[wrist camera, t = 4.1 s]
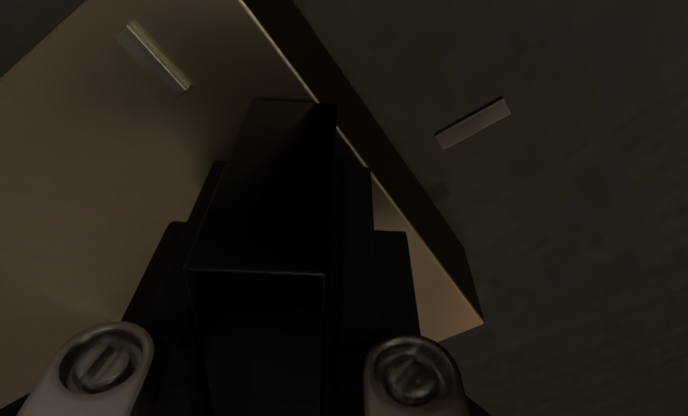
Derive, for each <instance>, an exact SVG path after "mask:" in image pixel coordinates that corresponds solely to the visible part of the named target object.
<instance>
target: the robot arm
mask: <svg viewBox="0 0 688 416" xmlns="http://www.w3.org/2000/svg"><path fill="white" fill-rule="evenodd" d="M225 164H226V161H222V160H215V161H214V162H213V164H212V166H211V168H210V171H209V173H208V175H207V177H206V180H205V182H204V184H203V186H202V189H201V191H200V193H199V195H198V198H197V200H196V202H195V204H194V207H193V209H192V211H191V213H190V216H189V218H188V220H187V222H181V221H172V222H171V223H169V225H168V226H167V228H166V230H165V232H164V234H163V236H162V238H161V240H160V242H159V244H158V246H157V248H156V250H155V252H154V254H153V256H152V258H151V260H150V262H149V264H148V266H147V268H146V270H145V272H144V275H143V277H142V279H141V281H140V283H139V285H138V287H137V289H136V291H135V293H134V295H133V297H132V299H131V301H130V303H129V305H128V307H127V309H126V311H125V313H124V315H123V317H122V319H121V321H115V322H105V323H102V324H98V325H94V326H91V327H89V328H87V329H85V330H83V331H81V332H79V333H77V334H75V335H74V336H73V337H72V338H70V339H69V340H68V341H66V342H65V343H64V344H63V345H62V346H61V347H60V348H59V350H58V351H57V352H56V353H55V354H54V356H53V357H52V359H51V360H50V362H49V363H48V365H47V367H46V368H45V370H44V372H43V373H42V375H41V376H40V378H39V380H38V381H37V383H36V385H35V386H34V388H33V389H32V391H31V392H30V393H28V394H26V395H25V396H23V397H21V398H19V399H17V400H16V401H14V402H12V403H10V404H8V405H7V406H5V407H3V408H1V409H0V416H213V412H212V407H211V403H210V398H209V393H208V388H207V383H206V378H205V373H204V368H203V363H202V359H201V354H200V349H199V344H198V339H197V334H196V329H195V324H194V319H193V315H192V310H191V305H190V300H189V295H188V290H187V285H186V280H185V275H184V270H183V268H184V265H185V263H186V260H187V258H188V255H189V253H190V250H191V248H192V245H193V243H194V240H195V238H196V235H197V233H198V231H199V228H200V226H201V223H202V221H203V218H204V216H205V213H206V211H207V208H208V206H209V203H210V201H211V198H212V196H213V193H214V191H215V188H216V186H217V184H218V181H219V179H220V176H221V174H222V171H223V169H224V166H225ZM323 416H491V415H490V414H489V413H487V412H486V411H485V410H484V409H482V408H481V407H480V406H478V405H477V404H476V403H475V402H473V401H472V400H471V399H470V398H468V397H467V396H466V395H465V391H464V386H463V382H462V378H461V373H460V371H459V368H458V366H457V364H456V361H455V359H454V358H453V357H452V356H451V355H450V353H449V352H448V351H447V350H446V349H445V348H444V347H442V346H441V345H440V344H438V343H437V342H436V341H434V340H432V339H429V338H427V337H424V336H422V335H421V332H420V325H419V318H418V311H417V304H416V296H415V289H414V282H413V275H412V268H411V261H410V253H409V246H408V239H407V234H406V232H405V231H384V230H374V217H373V199H372V181H371V168H370V167H351V166H344V173H334V190H333V208H332V226H331V243H330V261H329V279H328V296H327V315H326V339H325V365H324V391H323Z"/></svg>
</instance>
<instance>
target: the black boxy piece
mask: <svg viewBox="0 0 688 416" xmlns="http://www.w3.org/2000/svg"><path fill="white" fill-rule="evenodd" d="M336 129H337V105H336V104H328V103H308V102H288V101H268V100H251V102H250V104H249V107H248V109H247V112H246V114H245V117H244V119H243V122H242V124H241V127H240V129H239V132H238V134H237V136H236V139H235V141H234V144H233V146H232V149H231V151H230V154H229V156H228V159H227V161H226V164H225V166H224V169H223V171H222V174H221V176H220V179H219V181H218V184H217V186H216V188H215V191H214V193H213V196H212V198H211V201H210V203H209V206H208V208H207V211H206V213H205V216H204V218H203V221H202V223H201V226H200V228H199V231H198V233H197V235H196V238H195V240H194V243H193V245H192V248H191V250H190V253H189V255H188V258H187V260H186V263H185V265H184V268H183V270H184V275H185V280H186V285H187V290H188V295H189V300H190V305H191V310H192V315H193V319H194V324H195V329H196V334H197V339H198V344H199V349H200V354H201V359H202V363H203V368H204V373H205V378H206V383H207V388H208V393H209V398H210V403H211V407H212V412H213V416H323V391H324V365H325V339H326V315H327V296H328V279H329V261H330V243H331V226H332V208H333V190H334V173H335V153H336Z"/></svg>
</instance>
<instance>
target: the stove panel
mask: <svg viewBox="0 0 688 416" xmlns="http://www.w3.org/2000/svg"><path fill="white" fill-rule="evenodd" d="M251 100H268V101H288V102H308V103H328V104H336V105H337V129H336V153H335V173H344V166H351V167H370V168H371V181H372V199H373V217H374V230H384V231H405V232H406V234H407V239H408V246H409V253H410V261H411V268H412V275H413V282H414V289H415V296H416V304H417V311H418V318H419V325H420V332H421V335H422V336H424V337H427V338H429V339H432V340H434V341H436V342H439V341H441V340H444V339H446V338H449V337H451V336H454V335H457V334H459V333H462V332H464V331H467V330H469V329H472V328H474V327H477V326H480V325H482V324H484V317H483V314H482V310H481V307H480V303H479V299H478V296H477V292H476V289H475V285H474V282H473V278H472V274H471V271H470V267H469V264H468V260H467V256H466V253H465V249H464V247H463V246H462V244H461V243H460V241H459V240H458V238H457V237H456V236H455V234H454V233H453V231H452V230H451V228H450V227H449V225H448V224H447V223H446V221H445V220H444V218H443V217H442V215H441V214H440V213H439V211H438V210H437V208H436V207H435V205H434V204H433V202H432V201H431V200H430V198H429V197H428V195H427V194H426V192H425V191H424V189H423V188H422V187H421V185H420V184H419V182H418V181H417V179H416V178H415V177H414V175H413V174H412V172H411V171H410V169H409V168H408V166H407V165H406V164H405V162H404V161H403V159H402V158H401V156H400V155H399V153H398V152H397V151H396V149H395V148H394V146H393V145H392V143H391V142H390V141H389V139H388V138H387V136H386V135H385V133H384V132H383V130H382V129H381V128H380V126H379V125H378V123H377V122H376V120H375V119H374V117H373V116H372V115H371V113H370V112H369V110H368V109H367V107H366V106H365V105H364V103H363V102H362V100H361V99H360V97H359V96H358V94H357V93H356V92H355V90H354V89H353V87H352V86H351V84H350V83H349V81H348V80H347V79H346V77H345V76H344V74H343V73H342V71H341V70H340V69H339V67H338V66H337V64H336V63H335V61H334V60H333V58H332V57H331V56H330V54H329V53H328V51H327V50H326V48H325V47H324V45H323V44H322V43H321V41H320V40H319V38H318V37H317V35H316V34H315V33H314V31H313V30H312V28H311V27H310V25H309V24H308V22H307V21H306V20H305V18H304V17H303V15H302V14H301V12H300V11H299V9H298V8H297V7H296V5H295V4H294V2H293V1H292V0H86V1H85V2H83V3H82V4H81V5H80V6H79V7H78V8H77V9H76V10H75V11H74V12H72V13H71V14H70V15H69V16H68V17H67V18H66V19H65V20H64V21H63V22H61V23H60V24H59V25H58V26H57V27H56V28H55V29H54V30H53V31H52V32H50V33H49V34H48V35H47V36H46V37H45V38H44V39H43V40H42V41H41V42H39V43H38V44H37V45H36V46H35V47H34V48H33V49H32V50H31V51H30V52H28V53H27V54H26V55H25V56H24V57H23V58H22V59H21V60H20V61H18V62H17V63H16V64H15V65H14V66H13V67H12V68H11V69H10V70H9V71H7V72H6V73H5V74H4V75H3V76H2V77H1V78H0V409H1V408H3V407H5V406H7V405H8V404H10V403H12V402H14V401H16V400H17V399H19V398H21V397H23V396H25V395H26V394H28V393H30V392H31V391H32V389H33V388H34V386H35V385H36V383H37V381H38V380H39V378H40V376H41V375H42V373H43V372H44V370H45V368H46V367H47V365H48V363H49V362H50V360H51V359H52V357H53V356H54V354H55V353H56V352H57V351H58V350H59V348H60V347H61V346H62V345H63V344H64V343H65V342H66V341H68V340H69V339H70V338H72V337H73V336H74V335H75V334H77V333H79V332H81V331H83V330H85V329H87V328H89V327H91V326H94V325H98V324H102V323H105V322H115V321H121V319H122V317H123V315H124V313H125V311H126V309H127V307H128V305H129V303H130V301H131V299H132V297H133V295H134V293H135V291H136V289H137V287H138V285H139V283H140V281H141V279H142V277H143V275H144V272H145V270H146V268H147V266H148V264H149V262H150V260H151V258H152V256H153V254H154V252H155V250H156V248H157V246H158V244H159V242H160V240H161V238H162V236H163V234H164V232H165V230H166V228H167V226H168V225H169V223H171V222H172V221H181V222H187V220H188V218H189V216H190V213H191V211H192V209H193V207H194V204H195V202H196V200H197V198H198V195H199V193H200V191H201V189H202V186H203V184H204V182H205V180H206V177H207V175H208V173H209V171H210V168H211V166H212V164H213V162H214V161H215V160H222V161H227V159H228V156H229V154H230V151H231V149H232V146H233V144H234V141H235V139H236V136H237V134H238V132H239V129H240V127H241V124H242V122H243V119H244V117H245V114H246V112H247V109H248V107H249V104H250V102H251ZM510 114H511V112H510V110H509V108H508V106H507V104H506V102H505V100H504V98H503V96H500V97H498V98H496V99H494V100H493V101H491V102H489V103H487V104H485V105H484V106H482V107H480V108H478V109H476V110H474V111H473V112H471V113H469V114H467V115H465V116H464V117H462V118H460V119H458V120H456V121H455V122H453V123H451V124H449V125H447V126H446V127H444V128H442V129H440V130H438V131H437V132H435V133H434V136H435V138H436V140H437V142H438V143H439V145H440V146H441V148H442V150H445V149H446V148H448V147H450V146H452V145H454V144H456V143H458V142H459V141H461V140H463V139H465V138H467V137H469V136H471V135H472V134H474V133H476V132H478V131H480V130H482V129H484V128H485V127H487V126H489V125H491V124H493V123H495V122H497V121H498V120H500V119H502V118H504V117H506V116H508V115H510Z"/></svg>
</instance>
